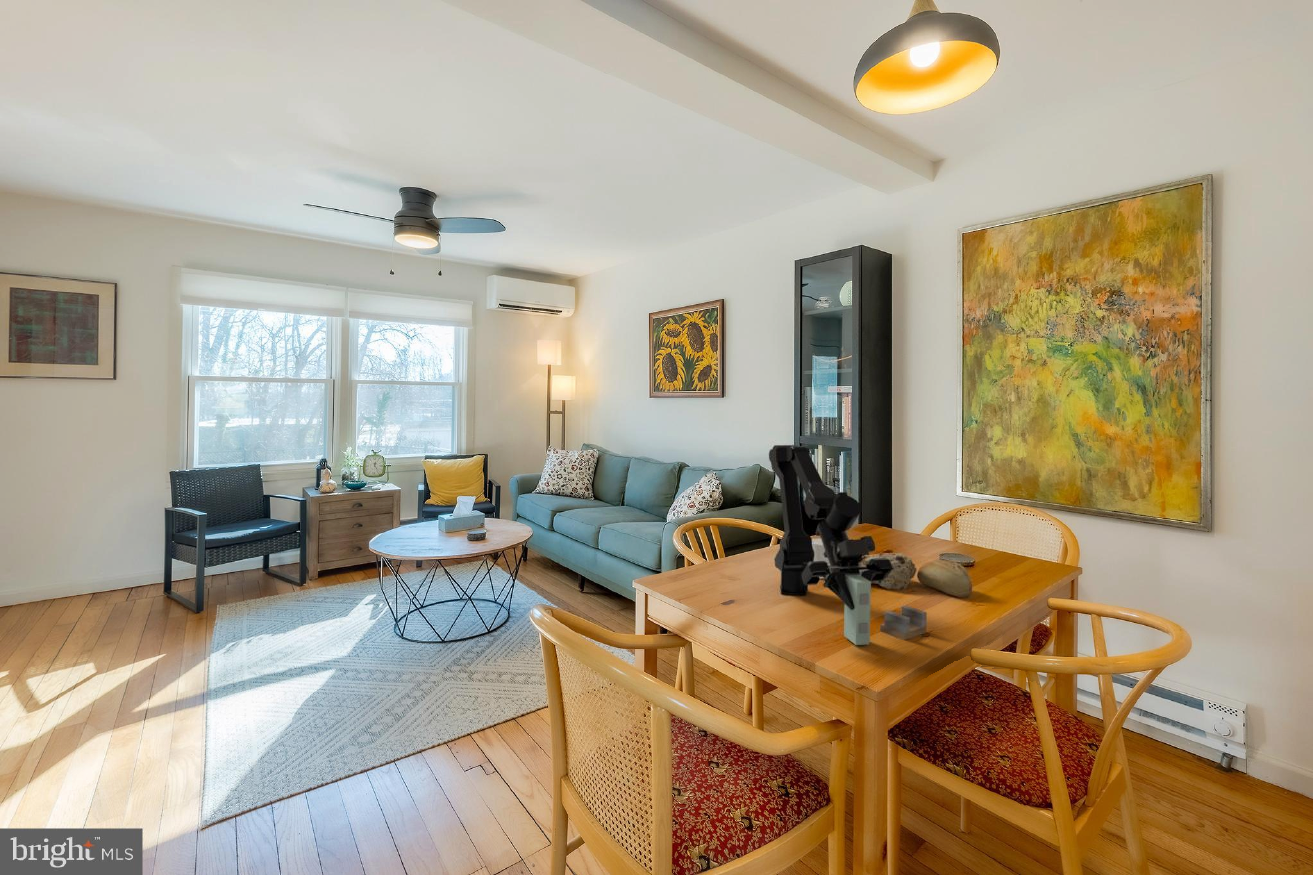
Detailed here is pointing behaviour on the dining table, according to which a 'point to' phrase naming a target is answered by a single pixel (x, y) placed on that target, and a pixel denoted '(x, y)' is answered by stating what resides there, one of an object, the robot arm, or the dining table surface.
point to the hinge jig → (904, 623)
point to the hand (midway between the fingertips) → (860, 608)
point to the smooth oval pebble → (946, 577)
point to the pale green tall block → (858, 610)
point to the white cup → (819, 552)
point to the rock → (894, 570)
